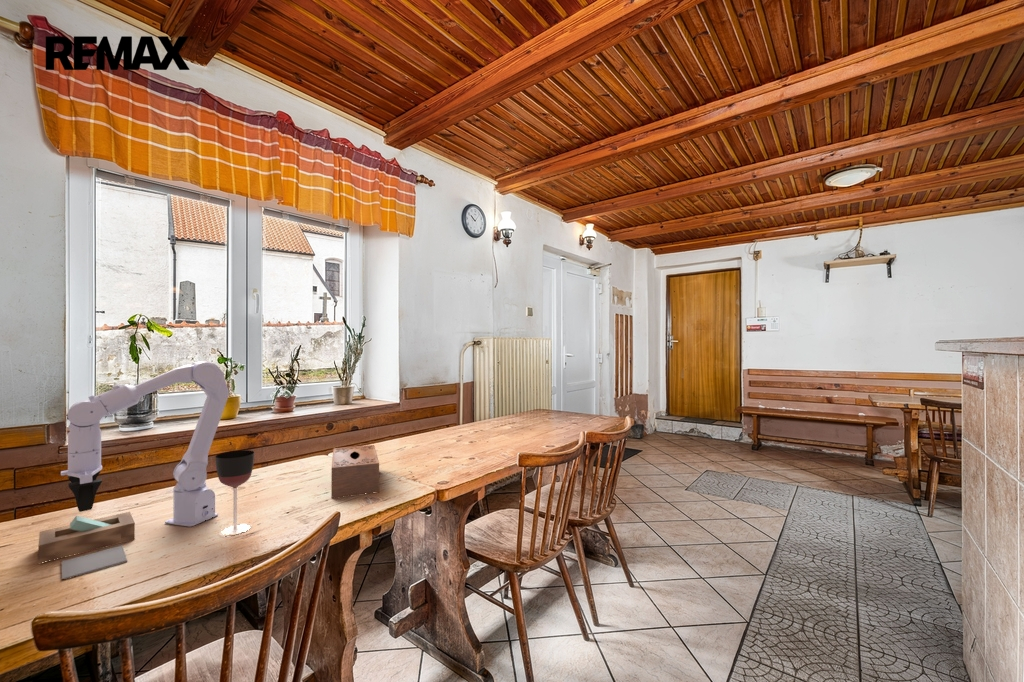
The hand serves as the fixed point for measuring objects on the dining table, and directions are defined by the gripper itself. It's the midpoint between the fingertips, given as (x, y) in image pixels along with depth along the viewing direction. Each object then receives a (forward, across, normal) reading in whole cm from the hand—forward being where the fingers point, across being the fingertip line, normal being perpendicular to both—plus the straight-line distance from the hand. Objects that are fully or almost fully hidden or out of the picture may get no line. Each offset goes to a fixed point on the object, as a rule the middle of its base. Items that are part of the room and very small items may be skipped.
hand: (84, 506), depth 102 cm
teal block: (+7, 0, +1) cm, 7 cm away
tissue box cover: (+10, +6, +66) cm, 67 cm away
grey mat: (+10, +13, +1) cm, 16 cm away
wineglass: (+10, +17, +27) cm, 34 cm away
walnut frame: (+10, 0, +1) cm, 10 cm away
